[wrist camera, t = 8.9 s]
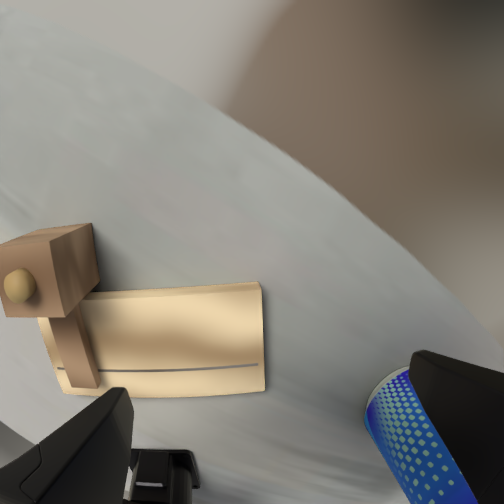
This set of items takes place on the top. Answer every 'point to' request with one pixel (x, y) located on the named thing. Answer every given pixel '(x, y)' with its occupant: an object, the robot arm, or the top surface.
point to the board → (172, 341)
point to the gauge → (54, 290)
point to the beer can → (413, 444)
